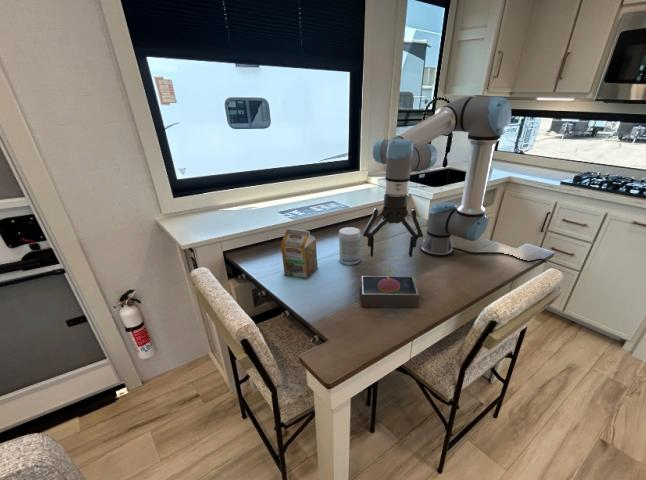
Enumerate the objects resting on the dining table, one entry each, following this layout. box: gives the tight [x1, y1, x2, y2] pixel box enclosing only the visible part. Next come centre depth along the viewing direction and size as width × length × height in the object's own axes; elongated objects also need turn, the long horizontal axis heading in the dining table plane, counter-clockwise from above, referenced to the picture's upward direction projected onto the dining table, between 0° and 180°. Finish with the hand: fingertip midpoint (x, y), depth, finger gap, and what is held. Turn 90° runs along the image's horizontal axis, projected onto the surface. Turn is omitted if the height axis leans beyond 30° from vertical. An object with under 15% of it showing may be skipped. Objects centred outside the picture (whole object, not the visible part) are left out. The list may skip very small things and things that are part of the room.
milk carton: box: [280, 228, 318, 280], centre depth 134 cm, size 11×11×19 cm
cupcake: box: [377, 265, 400, 294], centre depth 119 cm, size 9×8×12 cm
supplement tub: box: [338, 226, 361, 266], centre depth 145 cm, size 10×10×15 cm
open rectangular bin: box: [360, 275, 420, 308], centre depth 121 cm, size 20×14×5 cm
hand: (390, 255), depth 113 cm, fingers open, 13 cm apart
